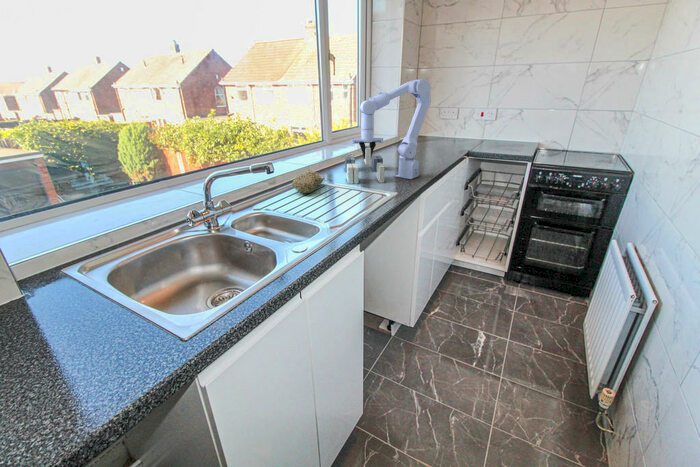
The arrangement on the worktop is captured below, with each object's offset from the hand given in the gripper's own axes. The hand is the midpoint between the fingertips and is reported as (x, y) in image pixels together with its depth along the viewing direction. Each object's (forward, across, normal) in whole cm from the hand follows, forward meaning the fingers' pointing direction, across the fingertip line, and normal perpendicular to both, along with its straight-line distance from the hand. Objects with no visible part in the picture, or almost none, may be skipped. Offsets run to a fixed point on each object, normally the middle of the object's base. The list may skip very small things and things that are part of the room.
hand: (367, 158), depth 156 cm
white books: (+10, +1, +3) cm, 10 cm away
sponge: (+10, +28, +15) cm, 33 cm away
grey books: (+10, 0, -20) cm, 23 cm away
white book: (+2, 0, 0) cm, 2 cm away
